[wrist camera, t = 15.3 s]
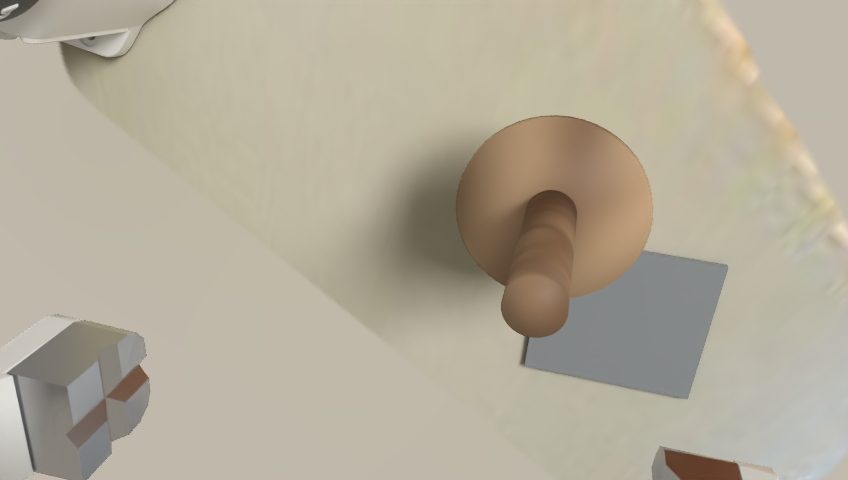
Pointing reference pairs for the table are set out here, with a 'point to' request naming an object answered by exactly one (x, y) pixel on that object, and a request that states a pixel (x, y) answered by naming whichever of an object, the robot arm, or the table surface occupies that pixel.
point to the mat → (638, 327)
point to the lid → (553, 215)
